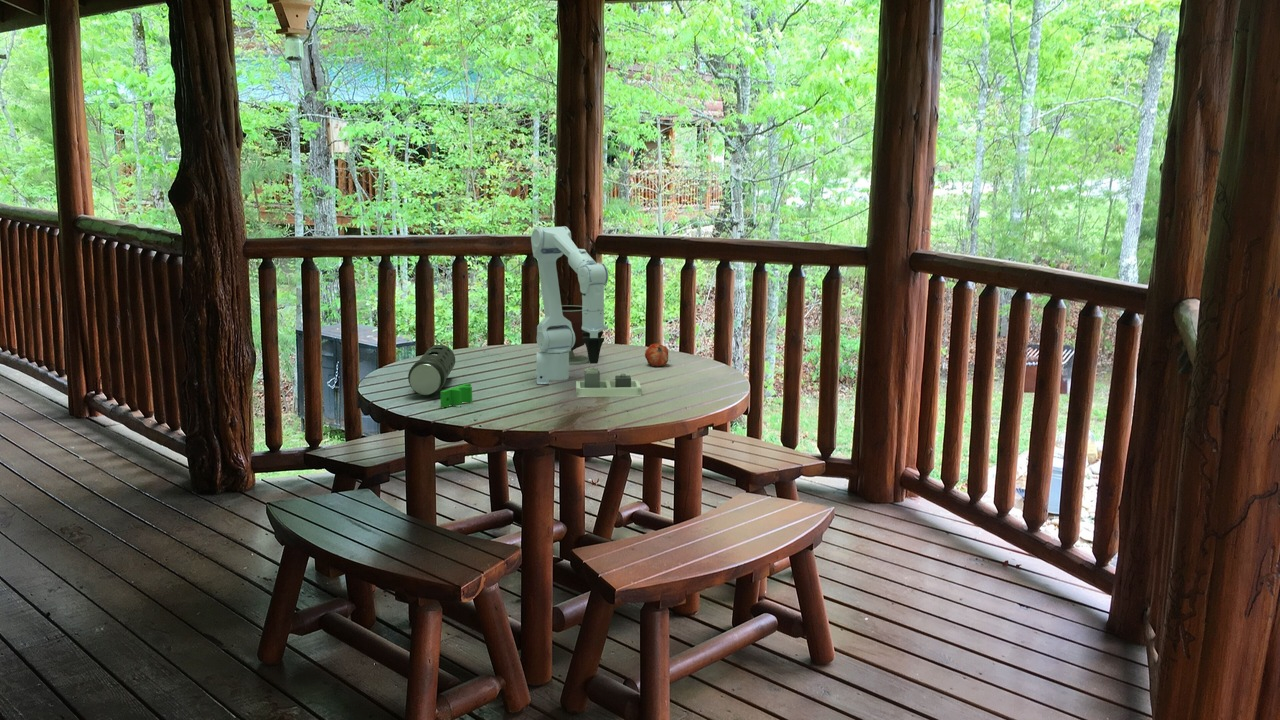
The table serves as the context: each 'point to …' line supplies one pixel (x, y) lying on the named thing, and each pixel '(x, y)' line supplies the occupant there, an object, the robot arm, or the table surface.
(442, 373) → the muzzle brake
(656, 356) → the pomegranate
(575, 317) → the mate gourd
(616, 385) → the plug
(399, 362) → the table surface
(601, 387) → the pale green compartment tray
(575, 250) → the robot arm
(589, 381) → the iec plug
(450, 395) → the pipe clamp
